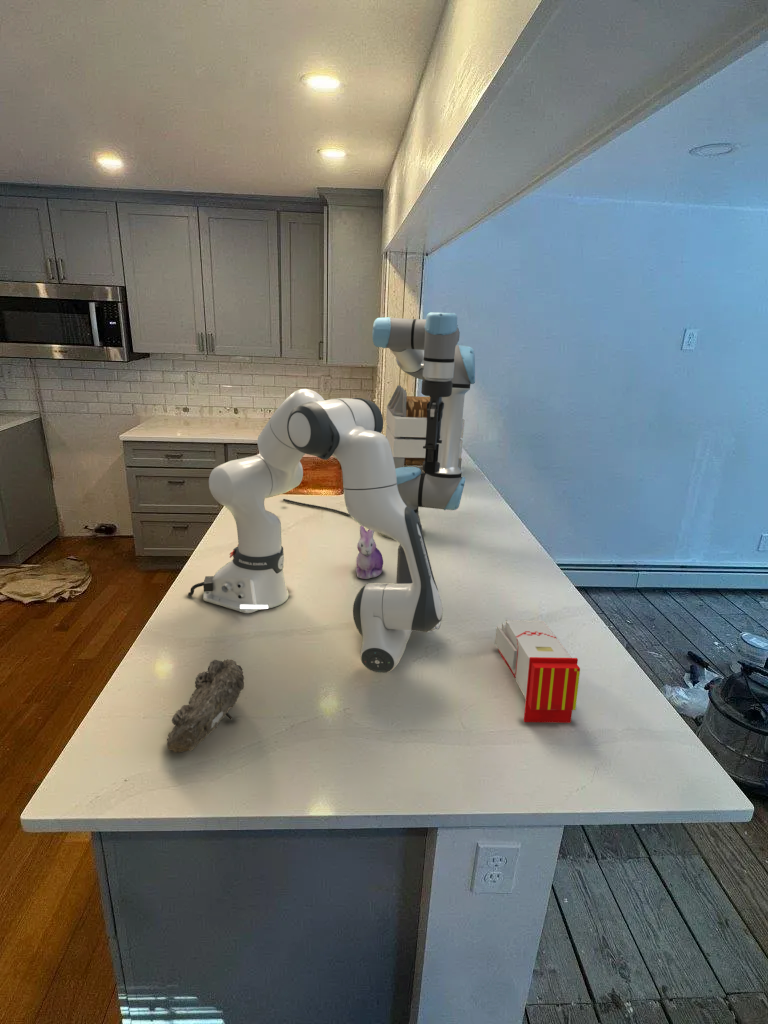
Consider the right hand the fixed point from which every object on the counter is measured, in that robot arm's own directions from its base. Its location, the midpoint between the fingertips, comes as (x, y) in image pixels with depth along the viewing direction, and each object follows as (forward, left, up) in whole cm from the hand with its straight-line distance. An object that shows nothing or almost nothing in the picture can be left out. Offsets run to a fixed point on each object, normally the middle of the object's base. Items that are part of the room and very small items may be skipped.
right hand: (430, 470), depth 147 cm
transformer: (-89, +85, -36) cm, 128 cm away
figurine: (-18, -4, -36) cm, 40 cm away
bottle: (+8, -14, -36) cm, 39 cm away
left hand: (+8, -13, -29) cm, 33 cm away
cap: (0, 0, +2) cm, 2 cm away
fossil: (+12, -68, -36) cm, 78 cm away
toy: (+43, -9, -36) cm, 56 cm away
